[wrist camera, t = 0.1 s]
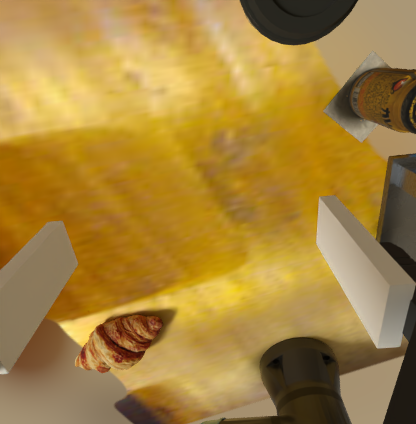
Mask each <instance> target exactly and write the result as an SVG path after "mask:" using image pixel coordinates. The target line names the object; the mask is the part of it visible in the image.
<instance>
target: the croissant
mask: <svg viewBox="0 0 416 424" xmlns="http://www.w3.org/2000/svg"><path fill="white" fill-rule="evenodd" d="M162 326H163V322H162V320H161V319H160V318H158V317H155V316H151V317H150V316H147V317H145V316H142V315H132V316H129V317H120V318H117V319H114V320H112V321H111V322H106V323H103V324H100V325H99V326H97V327H96V328H95V330H94V331H93V332H92V333H91V334H90V336H89V341H88V342H87V343H86V344H85V345H84V347H83V349H82V351H81V352H80V354H79V355H78V356H77V358H76V360H75V366H80V367H82V368H83V369H85V370H91V369H95V370H97V371H99V372H101V373H105V372H108V371H109V370H110V368H113V369H118V370H123V369H126V370H127V369H129V368H130V367H132V366H133V365H135V364H136V363H138V362H139V361H140V360H141V358H142V357H143V356H144V353H145V351H146V349H148V348H149V346H150V344H151V342H152V339H154V338H155V337H156V336H157V335H158V334H159V332H160V329H161V327H162Z"/></svg>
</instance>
